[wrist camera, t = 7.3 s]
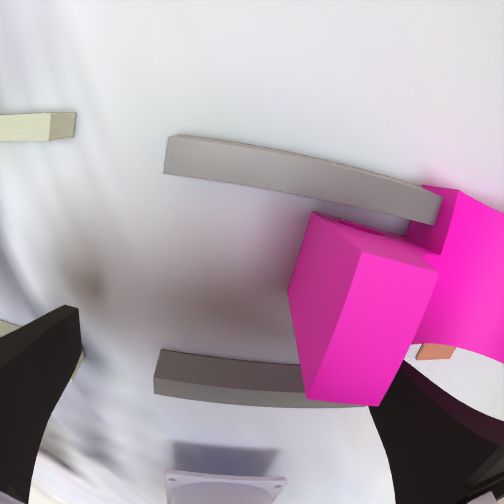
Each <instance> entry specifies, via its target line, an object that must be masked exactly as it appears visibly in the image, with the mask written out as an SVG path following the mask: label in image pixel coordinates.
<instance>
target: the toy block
mask: <svg viewBox="0 0 504 504" xmlns="http://www.w3.org/2000/svg"><path fill="white" fill-rule="evenodd" d="M422 187H423V188H425V189H427V190H430V191H432V192H434V193H436V194H438V195H440V196H442V197H444V198H443V201H442V204H441V207H440V210H439V213H438V216H437V219H436V222H435V224H434V226H433V225H429V224H425V223H421V222H417V221H413V220H411V222H410V225H409V228H408V230H407V233H406V236H405V237H403V236H400V235H396V234H393V233H389V232H386V231H383V230H379V229H376V228H372V227H368V226H365V225H361V224H358V223H354V222H350V221H347V220H343V219H339V218H335V217H332V216H328V215H324V214H320V213H316V212H312V213H311V217H310V220H309V224H308V227H307V230H306V234H305V237H304V240H303V244H302V247H301V250H300V253H299V257H298V260H297V263H296V266H295V269H294V273H293V276H292V279H291V282H290V285H289V288H288V291H287V294H288V299H289V304H290V309H291V315H292V320H293V326H294V331H295V337H296V342H297V348H298V353H299V359H300V365H301V370H302V376H303V382H304V388H305V394H306V399H311V400H318V401H326V402H335V403H344V404H354V405H366V406H379V404H380V402H381V401H382V399H383V397H384V395H385V394H386V392H387V390H388V388H389V386H390V384H391V383H392V381H393V379H394V377H395V375H396V373H397V371H398V369H399V367H400V365H401V363H402V361H403V359H404V357H405V355H406V353H407V351H408V349H409V347H410V345H412V344H421V343H431V344H442V345H449V346H454V347H458V348H462V349H466V350H470V351H473V352H476V353H479V354H482V355H485V356H487V357H490V358H492V359H495V360H497V361H499V362H501V363H503V364H504V214H502V213H500V212H498V211H496V210H494V209H492V208H490V207H488V206H486V205H484V204H482V203H480V202H479V201H477V200H475V199H473V198H471V197H470V196H468V195H466V194H464V193H463V192H461V191H460V190H456V189H449V188H441V187H433V186H425V185H423V186H422Z"/></svg>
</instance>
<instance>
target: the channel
mask: <svg viewBox="0 0 504 504" xmlns="http://www.w3.org/2000/svg"><path fill="white" fill-rule="evenodd" d="M163 174H170V175H177V176H185V177H192V178H199V179H206V180H213V181H220V182H226V183H233V184H239V185H245V186H251V187H257V188H263V189H268V190H274V191H280V192H285V193H290V194H296V195H301V196H306V197H311V198H316V199H321V200H326V201H331V202H336V203H340V204H345V205H350V206H354V207H359V208H363V209H368V210H372V211H376V212H381V213H385V214H389V215H393V216H397V217H401V218H405V219H409V220H413V221H417V222H421V223H425V224H429V225H433V226H434V224H435V222H436V219H437V216H438V213H439V210H440V207H441V204H442V201H443V198H444V197H442V196H440V195H438V194H436V193H434V192H432V191H430V190H427V189H425V188H423V187H420V186H417V185H414V184H411V183H408V182H404V181H401V180H398V179H394V178H391V177H388V176H384V175H381V174H377V173H373V172H370V171H366V170H362V169H359V168H355V167H351V166H347V165H343V164H339V163H335V162H331V161H327V160H322V159H318V158H314V157H309V156H305V155H300V154H295V153H290V152H286V151H281V150H275V149H270V148H265V147H259V146H254V145H248V144H242V143H236V142H230V141H223V140H217V139H210V138H203V137H195V136H187V135H174V136H170V137H168V141H167V148H166V156H165V163H164V171H163ZM455 349H456V347H454V346H449V345H442V344H431V343H423V345H422V347H421V349H420V350H419V352H418V354H417V356H416V360H432V359H450V357H451V356H452V354H453V352H454V350H455ZM154 394H158V395H164V396H170V397H177V398H183V399H190V400H198V401H206V402H215V403H224V404H235V405H247V406H262V407H283V408H347V407H365V406H366V405H354V404H344V403H335V402H326V401H318V400H311V399H306V394H305V388H304V382H303V376H302V370H301V365H285V364H272V363H260V362H249V361H239V360H230V359H222V358H214V357H206V356H198V355H191V354H185V353H178V352H172V351H166V350H161V351H160V355H159V358H158V362H157V366H156V370H155V374H154Z"/></svg>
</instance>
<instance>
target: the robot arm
mask: <svg viewBox="0 0 504 504" xmlns="http://www.w3.org/2000/svg"><path fill="white" fill-rule="evenodd" d="M82 351H83V350H82V342H81V333H80V322H79V310H78V308H75V307H71V306H68V305H63V306H61V307H59V308H57V309H55V310H53V311H51V312H49V313H47V314H45V315H43V316H42V317H40V318H38V319H36V320H34V321H32V322H30V323H28V324H27V325H25V326H23V327H21V328H18V329H16V330H14V331H12V332H10V333H8V334H6V335H4V336H2V337H0V504H28V501H29V493H30V486H31V479H32V475H33V470H34V465H35V461H36V457H37V453H38V450H39V446H40V443H41V440H42V437H43V434H44V431H45V428H46V425H47V422H48V420H49V418H50V416H51V413H52V411H53V410H54V408H55V406H56V404H57V402H58V400H59V398H60V397H61V395H62V393H63V391H64V389H65V388H66V386H67V384H68V382H69V380H70V378H71V377H72V375H73V373H74V371H75V369H76V366H77V364H78V361H79V359H80V356H81V353H82ZM369 410H370V413H371V415H372V418H373V421H374V423H375V426H376V428H377V431H378V433H379V436H380V438H381V441H382V443H383V446H384V448H385V451H386V454H387V457H388V461H389V465H390V470H391V474H392V480H393V486H394V492H395V501H396V504H498V503H497V501H498V500H499V499H501V498H503V497H504V421H502V420H499V419H496V418H493V417H491V416H488V415H486V414H484V413H481V412H479V411H477V410H475V409H473V408H471V407H469V406H467V405H466V404H464V403H462V402H461V401H459V400H457V399H456V398H454V397H453V396H451V395H450V394H448V393H447V392H445V391H444V390H443V389H441V388H440V387H438V386H437V385H436V384H434V383H433V382H432V381H430V380H429V379H428V378H427V377H425V376H424V375H423V374H422V373H420V372H419V371H418V370H416V369H415V368H414V367H413V366H411V365H410V364H409V363H407V362H406V361H405V360H403V361H402V363H401V365H400V367H399V369H398V371H397V373H396V375H395V377H394V379H393V381H392V383H391V384H390V386H389V388H388V390H387V392H386V394H385V395H384V397H383V399H382V401H381V402H380V404H379V406H369ZM165 481H166V492H167V502H168V504H272V502H273V501H274V500H275V498H276V497H277V496H278V494H279V493H280V492H281V490H282V489H283V488H284V486H285V485H286V483H287V480H286V478H285V477H256V476H231V475H217V474H206V473H196V472H188V471H180V470H173V469H169V470H166V472H165Z"/></svg>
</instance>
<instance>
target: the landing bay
mask: <svg viewBox="0 0 504 504" xmlns="http://www.w3.org/2000/svg"><path fill="white" fill-rule="evenodd" d="M75 118H76V113H30V114H12V115H0V141H51V140H56V139H62V138H68V137H74V127H75ZM18 328H21V327H19V326H16V325H13V324H10V323H7V322H5V321H2V320H0V337H2V336H4V335H6V334H8V333H10V332H12V331H14V330H16V329H18ZM82 350H83V348H82ZM83 359H84V353H83V351H82V353H81V356H80V359H79V361H78V364H77V366H76V369H75V371H74V373H73V375H72V377H71V378H70V380H69V381H70V382H72V381H73V379H74V377H75V375H76V373H77V371H78V369H79V367H80V365H81V363H82V361H83Z"/></svg>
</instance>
